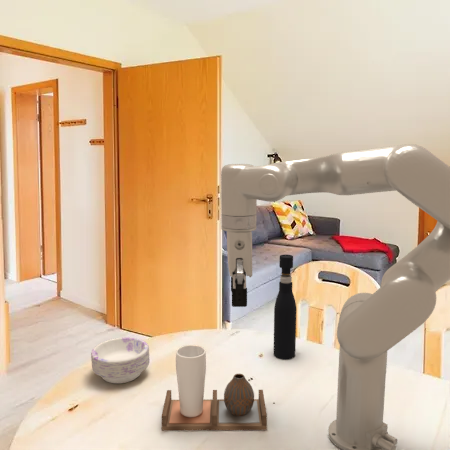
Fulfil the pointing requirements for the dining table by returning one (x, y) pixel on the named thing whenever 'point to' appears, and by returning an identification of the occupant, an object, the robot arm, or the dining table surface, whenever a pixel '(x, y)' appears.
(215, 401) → the slot rack
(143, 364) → the paper bowls
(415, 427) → the dining table surface
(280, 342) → the wine bottle
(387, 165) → the robot arm
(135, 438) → the dining table surface
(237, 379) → the vase
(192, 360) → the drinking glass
